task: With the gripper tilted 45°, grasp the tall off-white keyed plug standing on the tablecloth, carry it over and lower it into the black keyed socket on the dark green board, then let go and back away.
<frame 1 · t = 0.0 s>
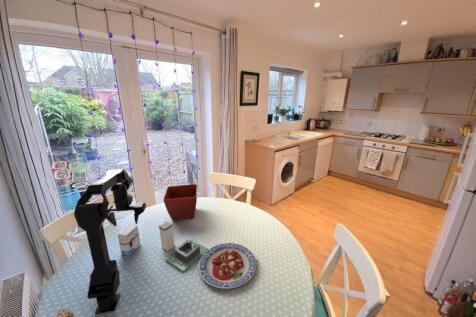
hand: (126, 224, 98), 15 cm above the table, tool pointing down, fingers open, 9 cm apart
keyed plug: (168, 246, 104), on the table
ink box: (131, 249, 103), on the table
plant pot: (183, 214, 133), on the table
header board: (187, 255, 99), on the table
ceramic plate: (227, 266, 93), on the table
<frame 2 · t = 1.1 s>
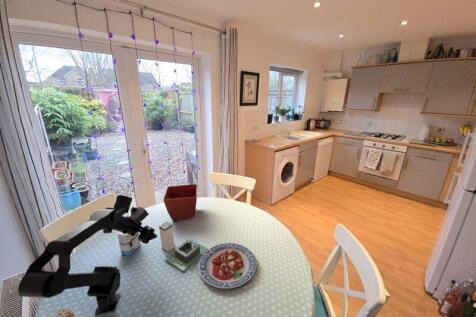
hand: (150, 233, 94), 13 cm above the table, tool tilted 45°, fingers open, 9 cm apart
nothing on the table moved.
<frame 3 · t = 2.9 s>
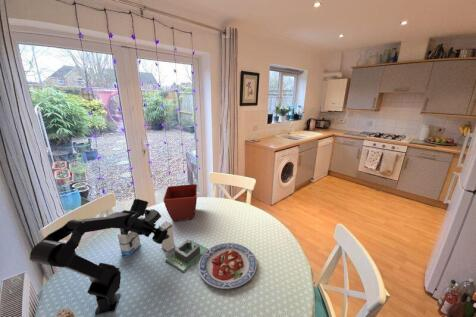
hand: (162, 233, 100), 9 cm above the table, tool tilted 45°, fingers open, 9 cm apart
nothing on the table moved.
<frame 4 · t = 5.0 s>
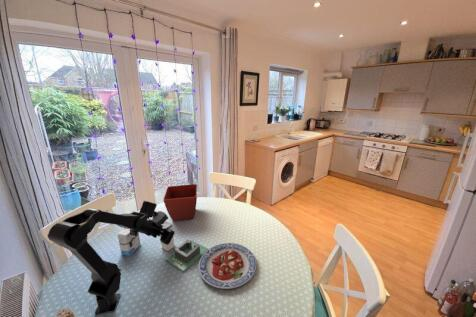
hand: (169, 234, 104), 7 cm above the table, tool tilted 45°, fingers closed on keyed plug, 4 cm apart
keyed plug: (168, 246, 104), on the table, touching gripper
everything else where it was.
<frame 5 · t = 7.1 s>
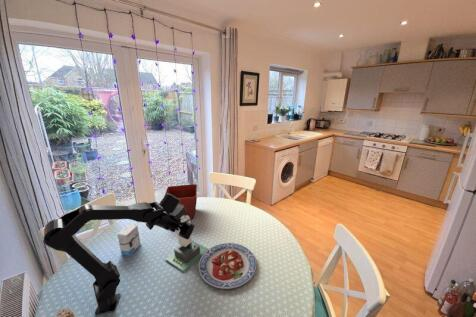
hand: (186, 229, 96), 14 cm above the table, tool tilted 45°, fingers closed on keyed plug, 4 cm apart
keyed plug: (185, 242, 97), point 7 cm above the table, touching gripper
everything else where it was.
when the fingers open (8 cm above the table, at t = 9.6 s): keyed plug stays where it is, resting on header board.
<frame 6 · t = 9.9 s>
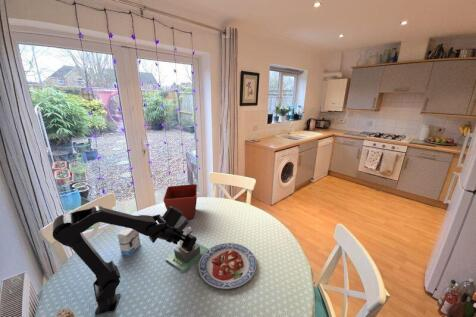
hand: (188, 240, 98), 8 cm above the table, tool tilted 45°, fingers open, 8 cm apart
keyed plug: (187, 253, 99), point 1 cm above the table, touching header board
everything else where it was.
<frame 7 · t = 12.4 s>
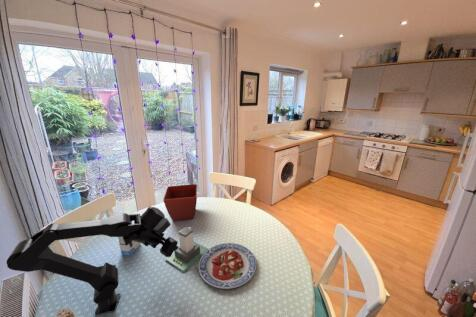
hand: (170, 243, 89), 12 cm above the table, tool tilted 45°, fingers open, 9 cm apart
nothing on the table moved.
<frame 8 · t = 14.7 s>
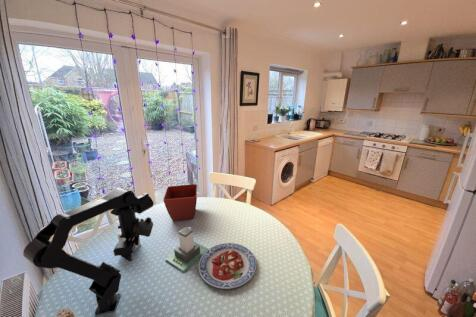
hand: (133, 252, 83), 13 cm above the table, tool pointing down, fingers open, 9 cm apart
nothing on the table moved.
at the end: keyed plug 0.0 cm off-centre on the header board, point 1.0 cm above the header board's base; keyed plug tilted 0°; the gripper is holding nothing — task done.
